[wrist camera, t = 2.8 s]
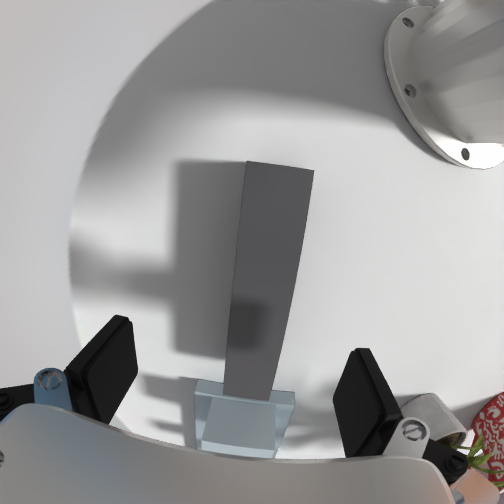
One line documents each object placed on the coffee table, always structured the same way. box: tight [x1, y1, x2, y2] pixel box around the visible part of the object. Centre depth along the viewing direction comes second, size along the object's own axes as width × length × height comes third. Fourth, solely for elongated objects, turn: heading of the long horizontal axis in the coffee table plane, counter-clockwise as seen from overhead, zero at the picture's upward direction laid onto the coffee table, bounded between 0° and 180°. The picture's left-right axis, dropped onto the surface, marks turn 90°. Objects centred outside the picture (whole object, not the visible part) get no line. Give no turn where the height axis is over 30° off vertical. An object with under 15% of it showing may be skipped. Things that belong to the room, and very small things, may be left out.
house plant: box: [400, 393, 504, 487], centre depth 13 cm, size 14×14×16 cm
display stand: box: [194, 379, 295, 458], centre depth 20 cm, size 16×8×7 cm, turn 173°
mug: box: [468, 392, 504, 493], centre depth 16 cm, size 13×9×14 cm
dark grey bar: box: [223, 161, 314, 401], centre depth 16 cm, size 14×3×4 cm, turn 173°
